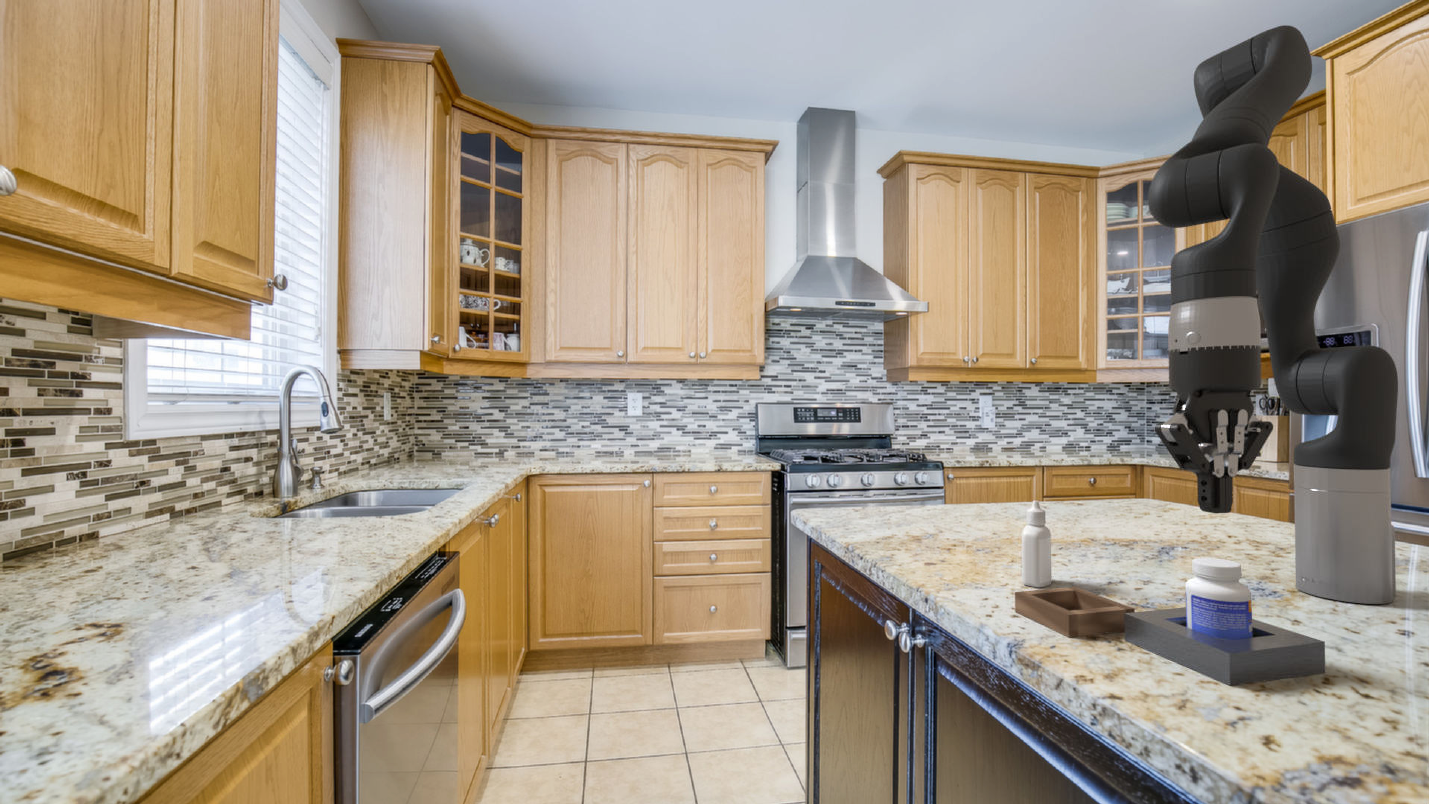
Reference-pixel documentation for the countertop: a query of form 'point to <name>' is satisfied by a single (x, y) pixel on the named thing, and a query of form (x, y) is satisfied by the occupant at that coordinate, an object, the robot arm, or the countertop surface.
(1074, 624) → the walnut stand
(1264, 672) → the steel block
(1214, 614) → the pill bottle
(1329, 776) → the countertop surface
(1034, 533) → the eye dropper bottle
